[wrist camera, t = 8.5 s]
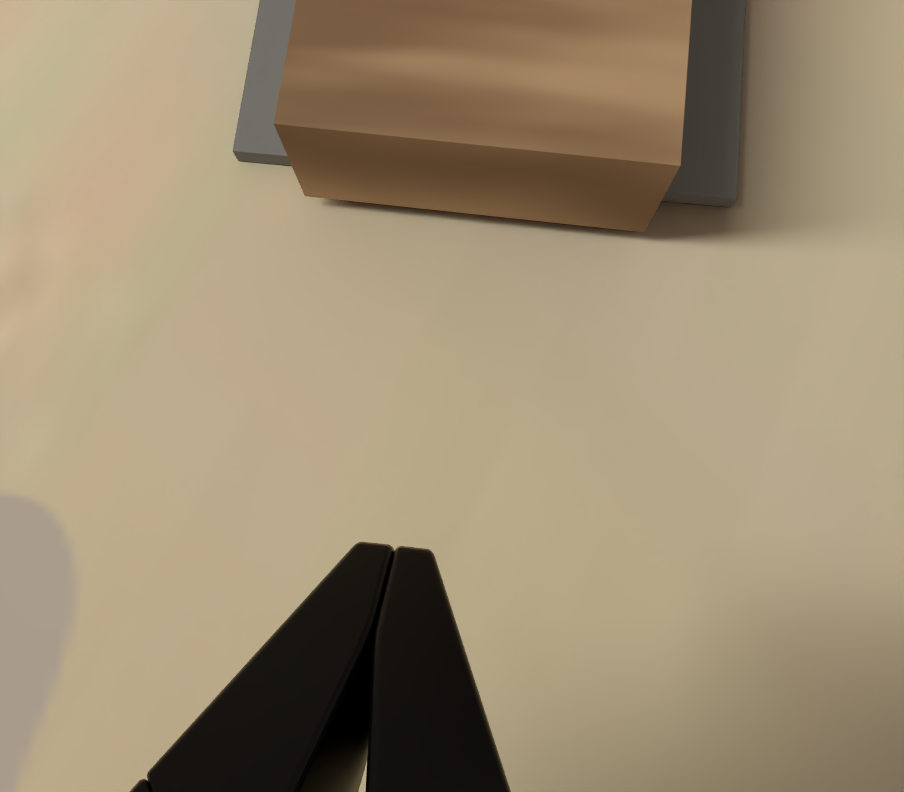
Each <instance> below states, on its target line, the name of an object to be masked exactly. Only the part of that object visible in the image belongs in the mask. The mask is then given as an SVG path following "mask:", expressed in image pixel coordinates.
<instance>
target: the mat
mask: <svg viewBox="0 0 904 792" xmlns="http://www.w3.org/2000/svg"><path fill="white" fill-rule="evenodd" d="M295 4H296V0H260V2H259V8H258V13H257V19H256V24H255V30H254V36H253V41H252V47H251V52H250V58H249V63H248V69H247V74H246V80H245V86H244V91H243V97H242V102H241V108H240V113H239V119H238V124H237V130H236V136H235V141H234V147H233V152H234V154H235V156H236V158H237V159H238V161H247V162H257V163H268V164H278V165H289V166H292V165H291V163H290V160H289V158H288V156H287V153H286V151H285V149H284V147H283V144H282V142H281V140H280V137H279V135H278V133H277V130H276V128H275V126H274V119H275V113H276V108H277V102H278V97H279V91H280V86H281V80H282V75H283V69H284V64H285V58H286V53H287V47H288V42H289V36H290V31H291V26H292V20H293V15H294V9H295ZM744 24H745V0H692V8H691V23H690V37H689V51H688V66H687V80H686V94H685V108H684V123H683V137H682V151H681V166H680V168H679V169H678V171H677V173H676V175H675V177H674V179H673V180H672V182H671V184H670V186H669V188H668V190H667V192H666V193H665V195H664V197H663V199H662V201H669V202H679V203H690V204H700V205H711V206H721V207H731V206H732V205H733V203H734V202H735V201H736V199H737V191H738V167H739V143H740V119H741V96H742V72H743V48H744Z"/></svg>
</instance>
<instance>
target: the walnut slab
mask: <svg viewBox="0 0 904 792" xmlns="http://www.w3.org/2000/svg"><path fill="white" fill-rule="evenodd" d="M691 8H692V0H296V4H295V9H294V15H293V20H292V26H291V31H290V36H289V42H288V47H287V53H286V58H285V64H284V69H283V75H282V80H281V86H280V91H279V97H278V102H277V108H276V113H275V119H274V126H275V128H276V130H277V133H278V135H279V137H280V140H281V142H282V144H283V147H284V149H285V151H286V153H287V156H288V158H289V160H290V163H291V165H292V167H293V169H294V172H295V174H296V176H297V179H298V181H299V183H300V186H301V188H302V190H303V192H304V195H305V196H309V197H318V198H328V199H337V200H346V201H356V202H365V203H374V204H384V205H393V206H403V207H412V208H421V209H431V210H440V211H449V212H459V213H468V214H478V215H487V216H496V217H506V218H515V219H524V220H534V221H543V222H553V223H562V224H571V225H581V226H590V227H599V228H609V229H618V230H628V231H637V232H645V230H646V228H647V227H648V225H649V223H650V221H651V219H652V217H653V216H654V214H655V212H656V210H657V208H658V206H659V204H660V203H661V201H662V199H663V197H664V195H665V193H666V192H667V190H668V188H669V186H670V184H671V182H672V180H673V179H674V177H675V175H676V173H677V171H678V169H679V168H680V166H681V151H682V137H683V123H684V108H685V94H686V80H687V66H688V51H689V37H690V23H691Z"/></svg>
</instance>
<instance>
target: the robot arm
mask: <svg viewBox="0 0 904 792" xmlns="http://www.w3.org/2000/svg"><path fill="white" fill-rule="evenodd" d="M366 761H367V776H366V792H511V791H510V788H509V785H508V782H507V779H506V776H505V773H504V770H503V766H502V763H501V760H500V757H499V754H498V751H497V748H496V745H495V742H494V739H493V736H492V732H491V729H490V726H489V723H488V720H487V717H486V714H485V711H484V708H483V705H482V701H481V698H480V695H479V692H478V689H477V686H476V683H475V680H474V677H473V674H472V671H471V667H470V664H469V661H468V658H467V655H466V652H465V649H464V646H463V643H462V640H461V636H460V633H459V630H458V627H457V624H456V621H455V618H454V615H453V612H452V609H451V606H450V602H449V599H448V596H447V593H446V590H445V587H444V584H443V581H442V578H441V575H440V572H439V568H438V565H437V562H436V559H435V556H434V554H433V553H432V551H430V550H429V549H422V548H413V547H405V546H400V547H398V548H396V550H395V551H394V549H393V547H392V546H390V545H387V544H378V543H368V542H359V543H357V544H355V545H354V546H353V547H352V548H351V549H350V551H349V552H348V553H347V554H346V555H345V556H344V557H343V558H342V559H341V560H340V562H339V563H338V564H337V565H336V566H335V567H334V568H333V569H332V570H331V571H330V573H329V574H328V575H327V576H326V577H325V578H324V579H323V580H322V581H321V582H320V584H319V585H318V586H317V587H316V588H315V589H314V590H313V591H312V592H311V593H310V595H309V596H308V597H307V598H306V599H305V600H304V601H303V602H302V603H301V604H300V606H299V607H298V608H297V609H296V610H295V611H294V612H293V613H292V614H291V615H290V617H289V618H288V619H287V620H286V621H285V622H284V623H283V624H282V625H281V626H280V628H279V629H278V630H277V631H276V632H275V633H274V634H273V635H272V636H271V637H270V639H269V640H268V641H267V642H266V643H265V644H264V645H263V646H262V647H261V648H260V650H259V651H258V652H257V653H256V654H255V655H254V656H253V657H252V658H251V659H250V661H249V662H248V663H247V664H246V665H245V666H244V667H243V668H242V669H241V670H240V672H239V673H238V674H237V675H236V676H235V677H234V678H233V679H232V680H231V681H230V683H229V684H228V685H227V686H226V687H225V688H224V689H223V690H222V691H221V692H220V694H219V695H218V696H217V697H216V698H215V699H214V700H213V701H212V702H211V703H210V705H209V706H208V707H207V708H206V709H205V710H204V711H203V712H202V713H201V714H200V716H199V717H198V718H197V719H196V720H195V721H194V722H193V723H192V724H191V725H190V727H189V728H188V729H187V730H186V731H185V732H184V733H183V734H182V735H181V736H180V737H179V739H178V740H177V741H176V742H175V743H174V744H173V745H172V746H171V747H170V748H169V750H168V751H167V752H166V753H165V754H164V755H163V756H162V757H161V758H160V759H159V761H158V762H157V763H156V764H155V765H154V766H153V767H152V768H151V769H150V770H149V772H148V774H147V778H148V781H147V780H145V779H142V780H140V781H139V782H138V783H137V784H136V785H135V786H134V788H133V789H132V790H131V791H130V792H358V791H359V787H360V783H361V780H362V776H363V773H364V769H365V765H366Z"/></svg>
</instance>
